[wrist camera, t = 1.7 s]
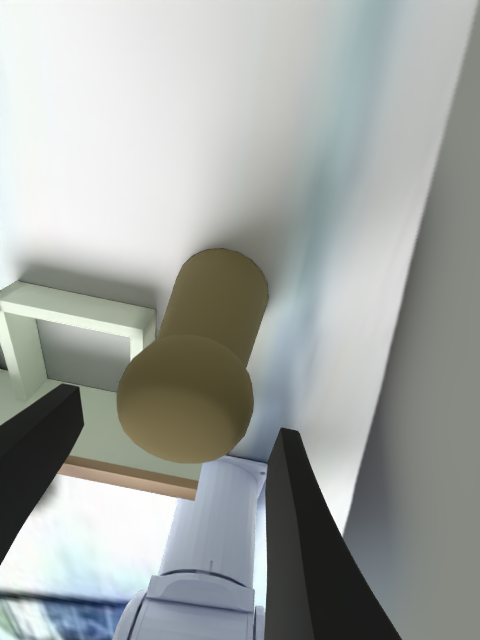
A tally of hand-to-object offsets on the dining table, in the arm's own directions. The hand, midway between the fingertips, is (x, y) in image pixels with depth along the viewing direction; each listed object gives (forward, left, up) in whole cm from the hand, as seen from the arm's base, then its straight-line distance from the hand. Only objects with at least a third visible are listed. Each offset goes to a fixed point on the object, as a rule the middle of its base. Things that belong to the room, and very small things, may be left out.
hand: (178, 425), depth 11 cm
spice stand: (-7, +9, -10) cm, 15 cm away
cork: (0, 0, -11) cm, 11 cm away
